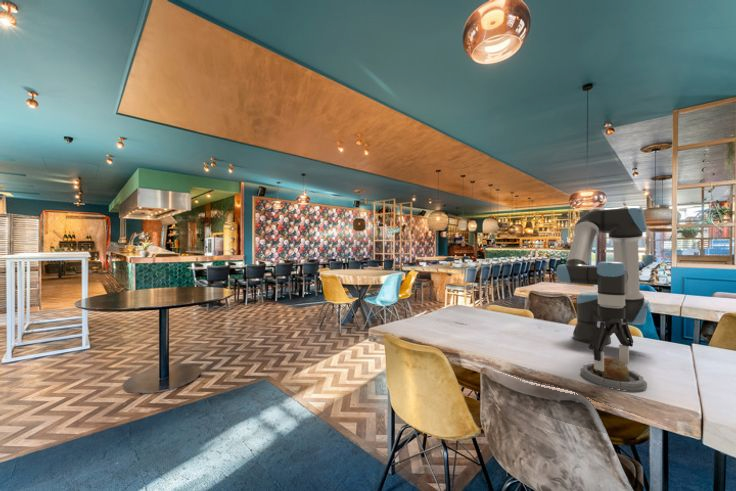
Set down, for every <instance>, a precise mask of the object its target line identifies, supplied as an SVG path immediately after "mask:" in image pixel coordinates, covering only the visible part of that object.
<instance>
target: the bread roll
mask: <svg viewBox="0 0 736 491" xmlns="http://www.w3.org/2000/svg"><path fill="white" fill-rule="evenodd" d="M592 364H593V370H592V371H593V372H594V373H595V374H596V375H597V376H600V377H602V378H605V379H610V380H615V381H620V382H625V381H630V380H631V379H630V378H629V371H628V370H629V368H628V365H625V364H624V363H622V362H621V361H619V359H617V358H612V357H604V371H600V370H597V369H594V363H592Z"/></svg>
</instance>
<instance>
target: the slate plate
mask: <svg viewBox="0 0 736 491" xmlns="http://www.w3.org/2000/svg"><path fill="white" fill-rule="evenodd" d="M593 364H594V363H589V364H583V366H582V367H581V369H580V376H581V377H582V378H583V379H584V380H586V381H588V382H591V383H592V382H593V383H592V384H595V385H597V384H598V386H600V385H602V386H601V387H603V386H605V387H604V388H607V387H609V388H608V389H611V388H613V389H612V390H615V389H620V390H619V391H621V390H626V391H625V392H630V391H638V392H641V391H640V390H644V389H646V388H647V389H648V382H647V381H646V380H645V378H644V376H642V375H640V374H639V373H637V372H636V371H632V370H629V369H628V371H629V378H630V379H631V380H630V381H625V382H620V381H615V380H610V379H605V378H602V377H600V376H597V375H596V374H595V373H594V372H593V371H592V370H593ZM647 389H646V390H647ZM644 391H645V390H644Z"/></svg>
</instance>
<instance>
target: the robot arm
mask: <svg viewBox="0 0 736 491" xmlns="http://www.w3.org/2000/svg"><path fill="white" fill-rule="evenodd" d="M647 231H648V228H647V220H646V216H645V212H644V209H643V208H642V206H639V205H627V206H616V207H615V206H614V207H605V208H604V207H603V208H596V209H595V208H594V209H593V210H590V211H589V212H586V213H585V214H584V215H582V216H581V217H580V218H579V219H577V221H576V223H575V224H574V227H573V233H574V236H573V239H572V243H571V245H570V248H569V253H568V255H567V259H566V262H565V263H563V264H558V265H557V267H556V278H557V281H558V282H559V283H564V284H565V283H566V284H576V285H577V284H578V285H590V286H591V285H592V286H594V285H595V286H597V292H583V293H580V294H577V296H576V324H575V327H574V330H573V332H572V337H573V339H575V340H577V341H580V342H582V343H583V342H584V343H588V344H589V345H588V348H589V349H590V350H593V364H594V369H597V370H600V371H604V358H605V352H604V351H603V349H604V348H605V346H606V345H610V344H611V343H612V337H611V336H612V335H613V334H614V335H615V336H616V339H617V340H618V341H619V343H620V344H618V360H619V361H621V362H622V363H624V364H625V365H626V366H629V365H630V347H631V348H632V347H633V346H634V339H633V337H632V333H631V329H630V327H629V325H638V326H639V325H640V326H641V325H644V324H645V323H646V318H647V313H648V307H649V300H648V299H646V298H645V295H644V294H643V293H641V290H640V264H639V262H640V261H639V260H640V258H639V240H640V239H641V238H642V237H643V235H644V233H646V232H647ZM599 234H608V238H609V239H610V240H612V244H613V245H612V246H613V247H612V248H613V261H599V262H598V263H597V265H591V264H590V265H589V263H590V258H591V254H592V251H593V246H594V242H595V239H596V238H597V237H598V235H599ZM628 324H629V325H628Z"/></svg>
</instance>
